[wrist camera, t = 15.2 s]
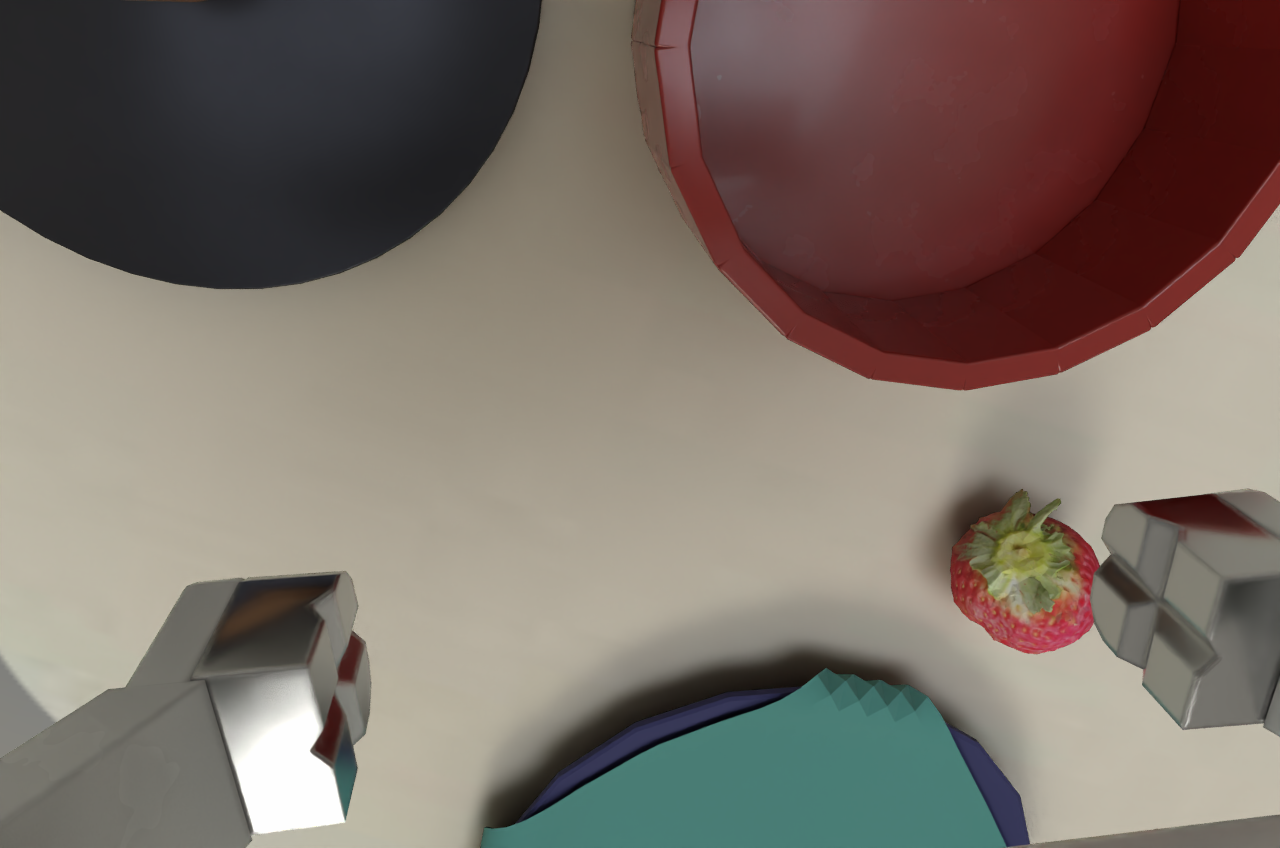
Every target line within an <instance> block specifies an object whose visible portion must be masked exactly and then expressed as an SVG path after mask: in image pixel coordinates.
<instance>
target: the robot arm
mask: <svg viewBox="0 0 1280 848" xmlns="http://www.w3.org/2000/svg"><path fill="white" fill-rule="evenodd" d="M1101 539H1102V540H1103V542H1104V544H1105V545H1106V547H1107V549H1108V550H1109V552H1110V553H1111V555H1110V556H1109V557H1108V558H1107V559H1106V560H1105V561H1104V562H1103V564H1102V565H1101V566H1100V567H1099V568H1098V569H1097V570H1096V571H1095V572H1094V576H1093V582H1092V588H1091V594H1090V603H1091V608H1092V614H1093V619H1094V624H1095V626H1096V628H1097V630H1098V632H1099V634H1100V636H1101V638H1102V640H1103V641H1104V642H1105V644H1106V645H1107V646H1108V647H1109V648H1110V649H1111V651H1112V652H1113V653H1114V654H1115V655H1116V656H1117V657H1118V658H1120V659H1123V660H1125V661H1127V662H1129V663H1131V664H1133V665H1135V666H1137V667H1139V668H1141V669H1143V681H1142V685H1143V687H1144V688H1145V689H1146V690H1147V691H1148V692H1149V693H1150V694H1151V695H1152V696H1153V698H1154V699H1155V700H1156V701H1157V702H1158V703H1159V704H1160V705H1161V706H1162V707H1163V709H1164V710H1165V711H1166V712H1167V713H1168V714H1169V715H1170V716H1171V717H1172V719H1173V720H1174V721H1175V722H1176V723H1177V724H1178V725H1179V726H1180V727H1181V728H1182V730H1187V729H1199V728H1211V727H1223V726H1236V725H1248V724H1260V723H1264V726H1263V727H1264V728H1266V729H1267V730H1269V731H1271V732H1273V733H1274V734H1276V735H1278V736H1279V737H1280V502H1279V501H1277V500H1276V499H1274V498H1273V497H1271V496H1270V495H1268V494H1267V493H1265V492H1261V491H1257V490H1252V489H1241V490H1233V491H1225V492H1217V493H1209V494H1203V495H1196V496H1187V497H1178V498H1170V499H1161V500H1152V501H1143V502H1134V503H1125V504H1116V505H1114V506H1113V508H1112V510H1111V511H1110V513H1109V514H1108V516H1107V517H1106V520H1105V524H1104V528H1103V533H1102V537H1101ZM357 610H358V602H357V598H356V594H355V589H354V585H353V581H352V578H351V577H350V576H349V574H348V573H347V572H346V571H337V572H323V573H308V574H294V575H279V576H264V577H250V578H246V579H243V578H232V579H223V580H213V581H203V582H196V583H193V584H191V585H188V586H187V587H186V588H185V589H184V590H183V592H182V594H181V595H180V597H179V599H178V600H177V602H176V604H175V605H174V607H173V609H172V610H171V612H170V614H169V615H168V617H167V619H166V620H165V622H164V624H163V625H162V627H161V629H160V630H159V632H158V634H157V635H156V637H155V639H154V640H153V642H152V644H151V645H150V647H149V649H148V650H147V652H146V654H145V655H144V657H143V659H142V660H141V662H140V664H139V665H138V667H137V669H136V670H135V672H134V674H133V675H132V677H131V679H130V680H129V682H128V684H127V685H126V687H125V688H116V689H108V690H106V691H105V692H103V693H102V694H100V695H99V696H97V697H95V698H94V699H92V700H91V701H89V702H88V703H86V704H85V705H83V706H81V707H80V708H78V709H77V710H75V711H74V712H72V713H70V714H69V715H67V716H66V717H64V718H63V719H61V720H60V721H58V722H56V723H55V724H53V725H52V726H50V727H49V728H47V729H45V730H44V731H42V732H41V733H39V734H38V735H36V736H35V737H33V738H31V739H30V740H28V741H27V742H25V743H24V744H22V745H21V746H19V747H17V748H16V749H14V750H13V751H11V752H9V753H8V754H6V755H5V756H3V757H2V758H0V848H246V847H247V846H248V844H249V843H250V842H251V841H252V838H251V836H252V835H259V834H266V833H273V832H280V831H288V830H295V829H302V828H309V827H317V826H324V825H331V824H338V823H345V820H346V816H347V812H348V808H349V803H350V799H351V795H352V790H353V786H354V782H355V778H356V773H357V769H358V767H357V762H356V758H355V753H354V748H353V745H354V744H355V743H356V742H358V741H359V740H360V739H361V738H362V737H363V736H364V735H365V734H366V729H367V724H368V719H369V714H370V699H371V676H370V664H369V658H368V652H367V647H366V642H365V641H364V640H363V639H362V638H360V637H359V636H358V635H357V634H356V633H355V632H353V631H352V628H353V624H354V621H355V617H356V613H357ZM1004 848H1280V815H1272V816H1263V817H1255V818H1246V819H1238V820H1230V821H1221V822H1213V823H1204V824H1196V825H1188V826H1179V827H1171V828H1162V829H1154V830H1145V831H1137V832H1129V833H1120V834H1112V835H1103V836H1095V837H1087V838H1078V839H1070V840H1061V841H1053V842H1045V843H1037V844H1029V845H1020V846H1012V847H1004Z"/></svg>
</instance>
